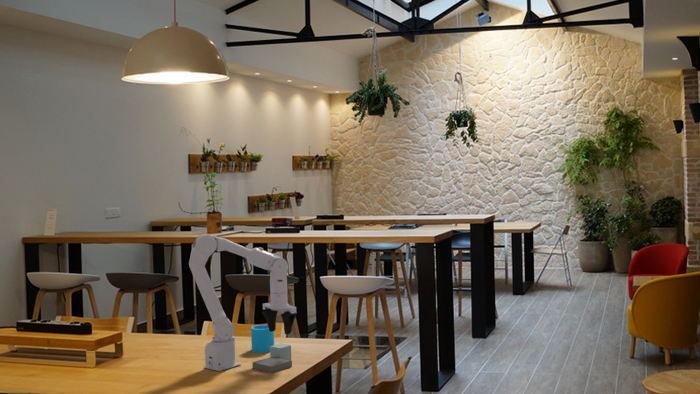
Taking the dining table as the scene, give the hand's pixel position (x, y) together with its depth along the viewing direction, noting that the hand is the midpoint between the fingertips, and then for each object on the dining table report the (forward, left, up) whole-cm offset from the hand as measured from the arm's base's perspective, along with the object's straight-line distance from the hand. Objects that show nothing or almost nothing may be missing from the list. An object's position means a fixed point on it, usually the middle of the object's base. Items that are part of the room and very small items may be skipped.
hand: (280, 332), depth 225 cm
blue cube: (0, 0, -10) cm, 10 cm away
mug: (+8, +18, -10) cm, 22 cm away
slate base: (-8, -5, -9) cm, 13 cm away
